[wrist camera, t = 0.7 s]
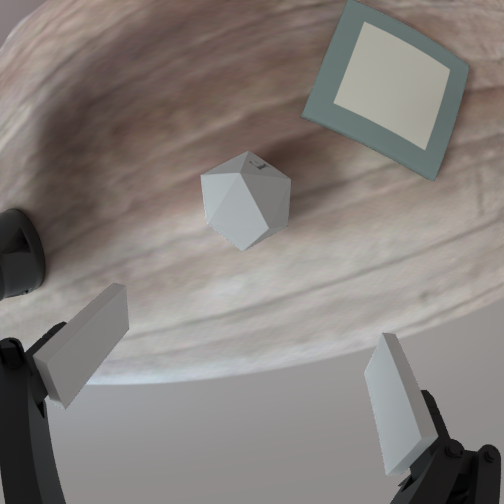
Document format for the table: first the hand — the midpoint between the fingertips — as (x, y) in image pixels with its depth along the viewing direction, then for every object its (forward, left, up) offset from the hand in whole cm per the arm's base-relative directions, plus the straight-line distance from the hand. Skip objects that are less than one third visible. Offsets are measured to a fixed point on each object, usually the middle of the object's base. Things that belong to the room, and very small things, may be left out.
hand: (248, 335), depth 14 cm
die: (-4, +3, -21) cm, 21 cm away
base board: (+6, +21, -21) cm, 30 cm away
